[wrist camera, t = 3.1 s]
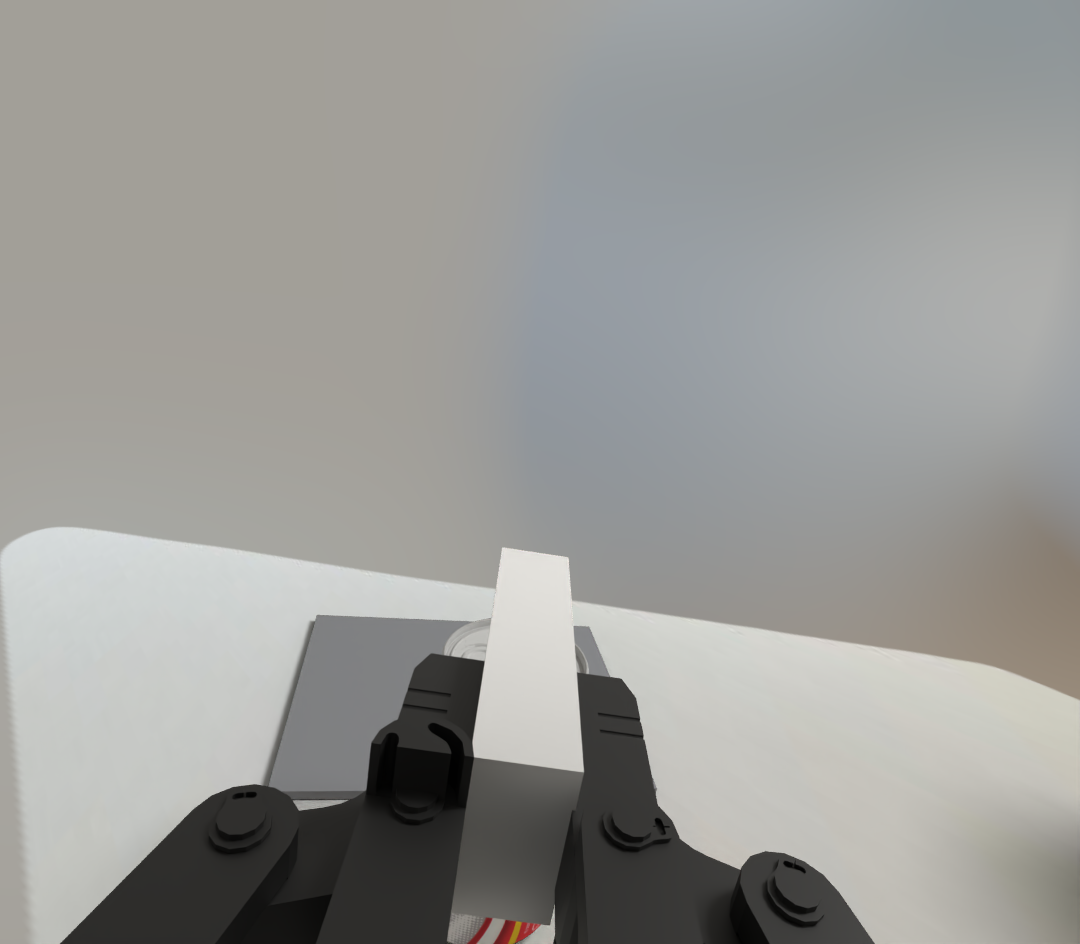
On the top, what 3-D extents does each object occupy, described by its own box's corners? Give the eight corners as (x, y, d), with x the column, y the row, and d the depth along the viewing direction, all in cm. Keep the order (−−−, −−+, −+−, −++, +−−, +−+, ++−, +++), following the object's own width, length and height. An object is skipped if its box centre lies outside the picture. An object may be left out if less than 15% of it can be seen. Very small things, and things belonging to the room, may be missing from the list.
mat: (587, 632, 51) (589, 626, 51) (654, 795, 36) (656, 788, 36) (316, 621, 47) (316, 615, 47) (266, 799, 32) (266, 791, 32)
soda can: (382, 842, 31) (403, 618, 27) (519, 807, 34) (555, 601, 30) (424, 995, 25) (460, 734, 21) (586, 934, 28) (641, 698, 24)
